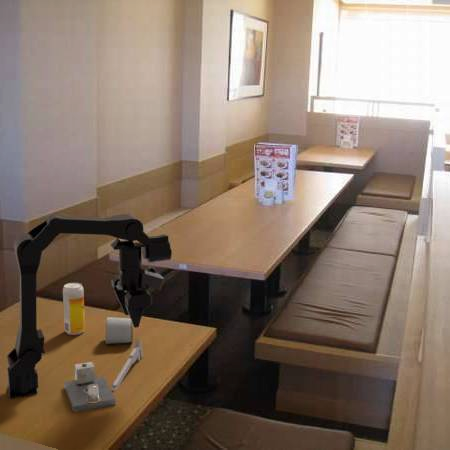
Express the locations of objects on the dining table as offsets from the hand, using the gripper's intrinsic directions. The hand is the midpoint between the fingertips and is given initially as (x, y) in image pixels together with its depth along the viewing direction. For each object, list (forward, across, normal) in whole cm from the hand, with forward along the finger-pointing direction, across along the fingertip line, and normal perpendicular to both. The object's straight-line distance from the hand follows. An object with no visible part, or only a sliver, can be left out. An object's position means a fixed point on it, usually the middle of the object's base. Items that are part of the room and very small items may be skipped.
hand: (131, 320), depth 168 cm
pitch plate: (+15, -8, +13) cm, 22 cm away
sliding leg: (+13, -4, +13) cm, 19 cm away
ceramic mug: (+15, +22, -2) cm, 27 cm away
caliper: (+15, 0, +1) cm, 15 cm away
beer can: (+15, +33, +9) cm, 37 cm away
